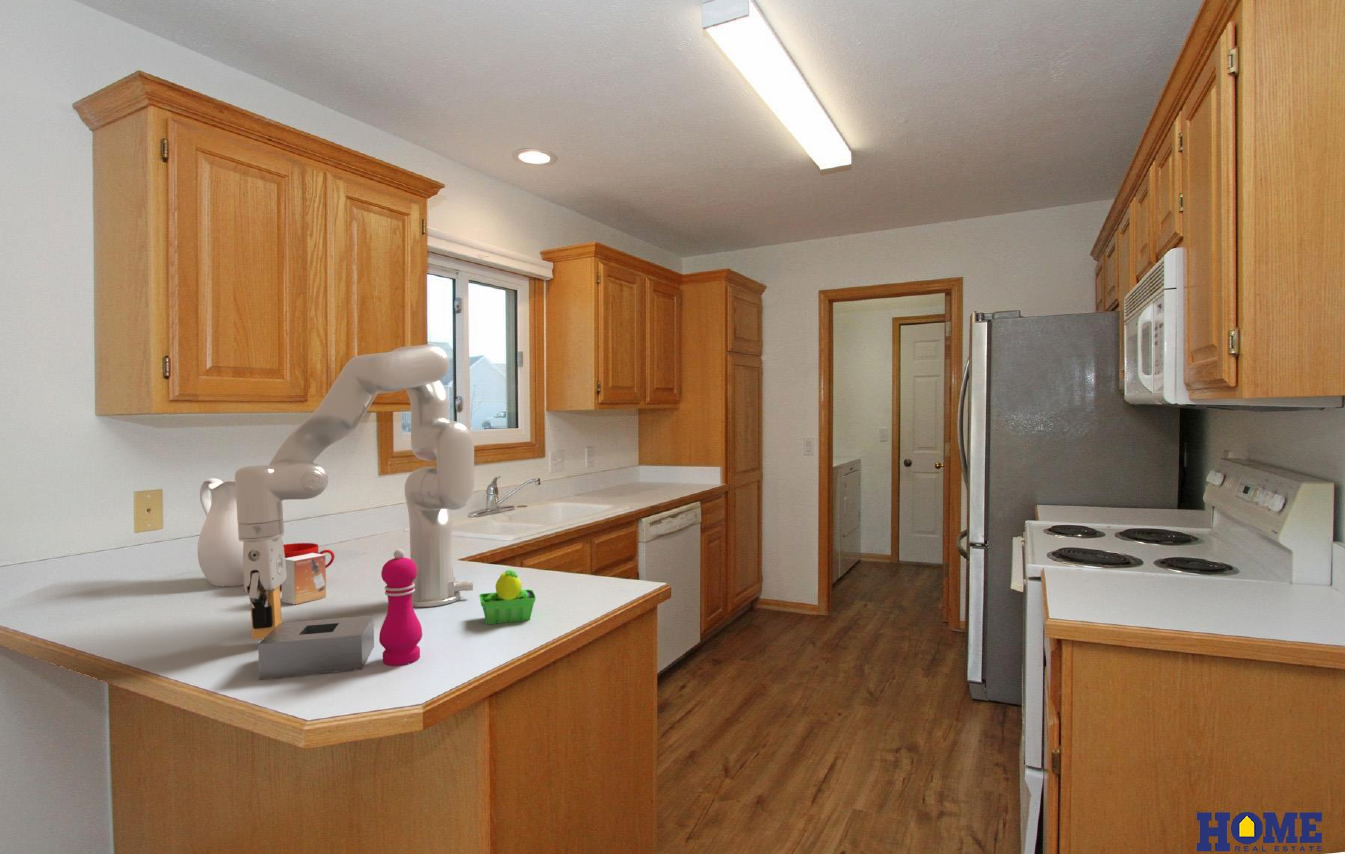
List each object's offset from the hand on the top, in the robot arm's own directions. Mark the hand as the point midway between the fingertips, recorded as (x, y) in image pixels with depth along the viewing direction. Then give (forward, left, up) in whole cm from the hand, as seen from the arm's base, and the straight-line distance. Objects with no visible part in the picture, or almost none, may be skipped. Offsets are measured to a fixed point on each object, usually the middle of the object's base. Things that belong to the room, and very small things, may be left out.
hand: (267, 622), depth 133 cm
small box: (+2, -33, -4) cm, 34 cm away
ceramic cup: (+7, -49, -4) cm, 50 cm away
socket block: (-12, +14, -4) cm, 19 cm away
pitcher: (+27, -61, -4) cm, 67 cm away
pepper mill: (-26, +17, -4) cm, 31 cm away
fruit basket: (-45, -2, -4) cm, 46 cm away
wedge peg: (0, 0, -2) cm, 2 cm away
